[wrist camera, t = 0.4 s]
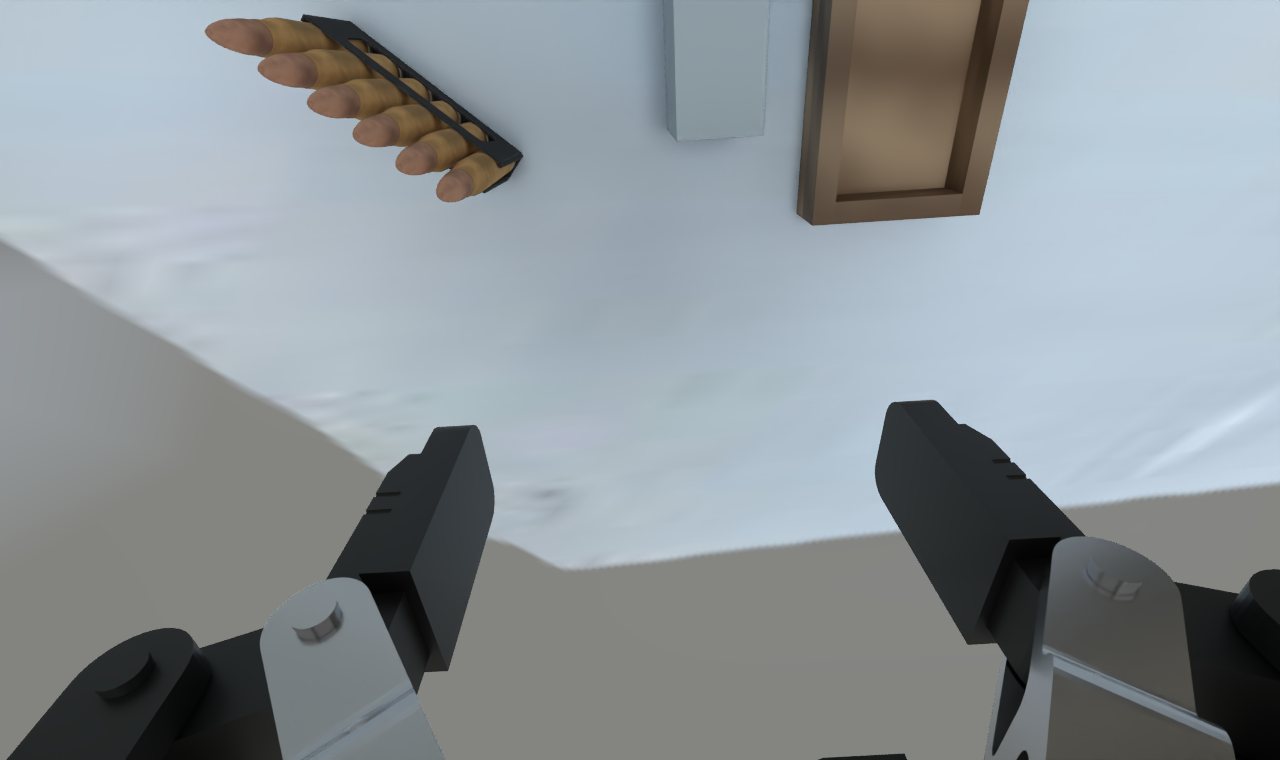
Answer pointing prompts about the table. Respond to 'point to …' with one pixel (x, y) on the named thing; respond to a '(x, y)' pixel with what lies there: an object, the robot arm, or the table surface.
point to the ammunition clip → (375, 98)
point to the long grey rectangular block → (715, 67)
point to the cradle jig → (904, 106)
